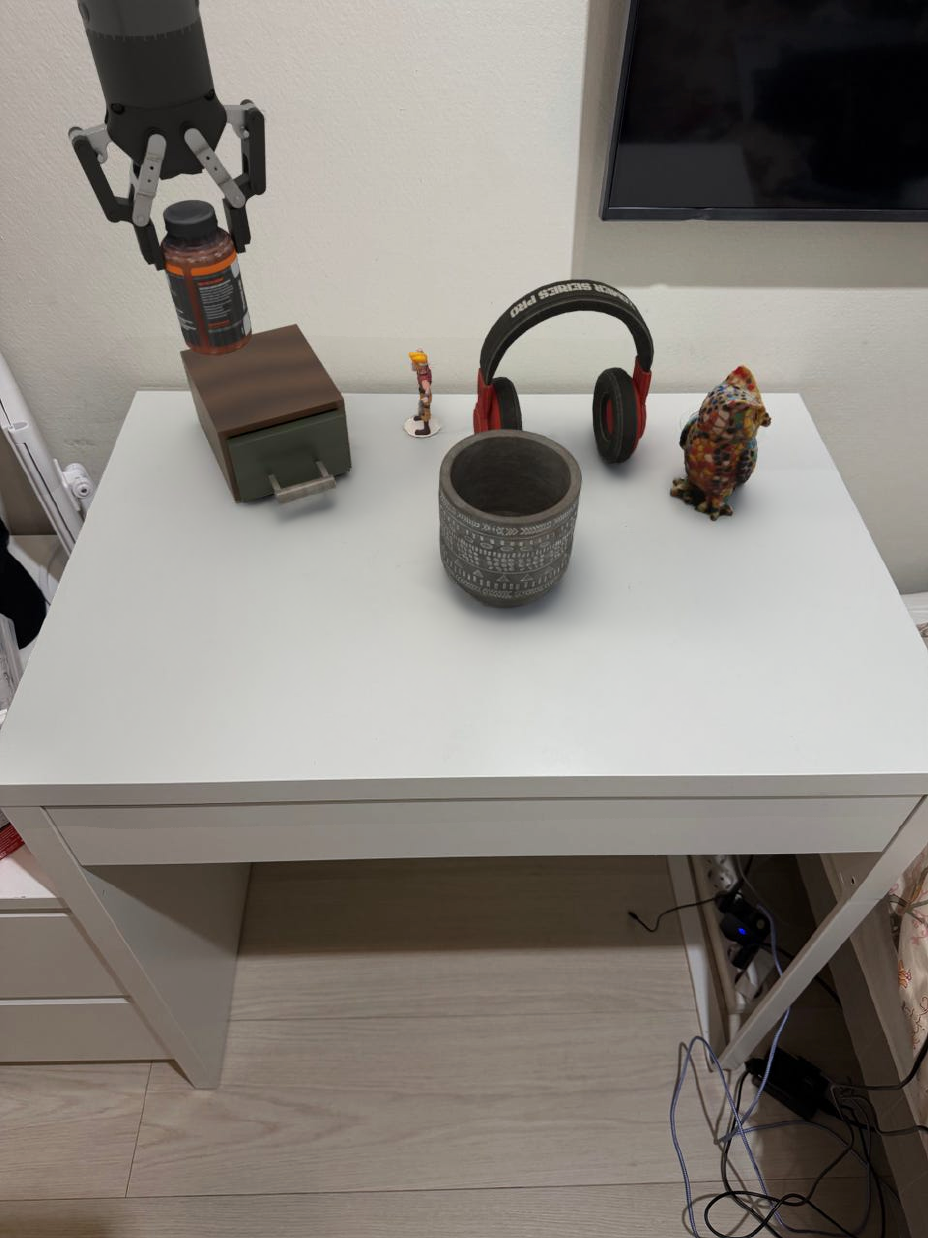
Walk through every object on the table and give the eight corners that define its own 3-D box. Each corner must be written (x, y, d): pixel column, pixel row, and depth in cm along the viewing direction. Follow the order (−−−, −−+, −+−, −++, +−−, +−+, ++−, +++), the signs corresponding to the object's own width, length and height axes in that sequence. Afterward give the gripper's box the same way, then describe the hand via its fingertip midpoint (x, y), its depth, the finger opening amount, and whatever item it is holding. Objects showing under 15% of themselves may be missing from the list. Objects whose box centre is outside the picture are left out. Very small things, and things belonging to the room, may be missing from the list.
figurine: (769, 511, 87) (818, 389, 76) (693, 532, 85) (731, 409, 74) (725, 460, 92) (765, 338, 81) (652, 478, 90) (682, 355, 79)
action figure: (442, 466, 91) (441, 393, 84) (415, 467, 91) (412, 394, 84) (434, 398, 99) (432, 326, 91) (409, 400, 98) (406, 327, 91)
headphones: (482, 496, 88) (490, 323, 73) (467, 436, 94) (471, 265, 79) (645, 481, 90) (685, 309, 75) (619, 422, 96) (652, 252, 81)
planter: (550, 638, 76) (565, 537, 66) (422, 606, 79) (418, 505, 69) (578, 545, 84) (595, 443, 74) (461, 519, 86) (462, 416, 76)
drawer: (364, 493, 87) (358, 438, 81) (254, 527, 84) (240, 471, 78) (308, 399, 97) (300, 344, 91) (208, 425, 93) (193, 370, 88)
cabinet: (352, 468, 91) (344, 398, 84) (235, 502, 87) (217, 432, 80) (307, 392, 99) (296, 323, 92) (199, 421, 95) (179, 351, 89)
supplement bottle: (267, 334, 75) (244, 205, 66) (221, 367, 72) (189, 236, 63) (217, 314, 77) (188, 186, 68) (170, 344, 74) (132, 214, 65)
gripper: (232, -18, 60) (271, 220, 73) (18, 7, 56) (100, 254, 69) (263, 14, 56) (298, 260, 69) (34, 43, 51) (118, 299, 64)
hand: (199, 256), depth 69 cm, fingers closed on supplement bottle, 6 cm apart
